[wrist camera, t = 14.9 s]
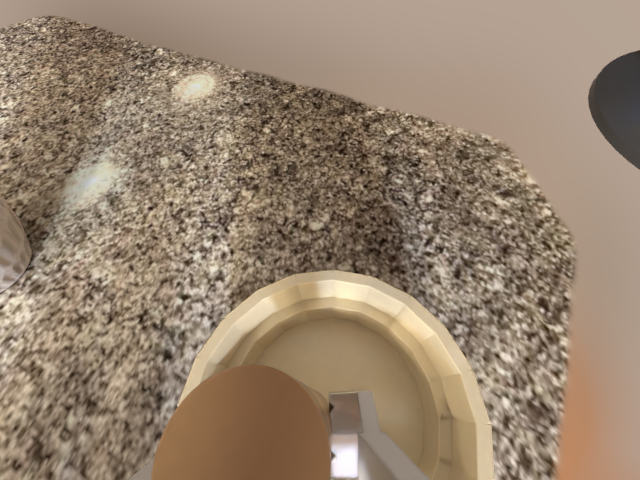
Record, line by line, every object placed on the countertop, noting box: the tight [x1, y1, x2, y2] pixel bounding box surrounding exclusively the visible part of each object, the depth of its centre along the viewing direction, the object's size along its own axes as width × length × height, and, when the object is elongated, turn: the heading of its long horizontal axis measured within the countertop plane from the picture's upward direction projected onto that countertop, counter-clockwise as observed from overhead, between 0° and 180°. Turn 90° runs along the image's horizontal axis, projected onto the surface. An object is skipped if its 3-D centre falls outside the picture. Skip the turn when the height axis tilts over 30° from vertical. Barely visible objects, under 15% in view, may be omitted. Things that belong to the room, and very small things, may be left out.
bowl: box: [178, 270, 494, 480], centre depth 17 cm, size 14×14×7 cm
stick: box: [151, 364, 331, 480], centre depth 11 cm, size 3×3×14 cm
